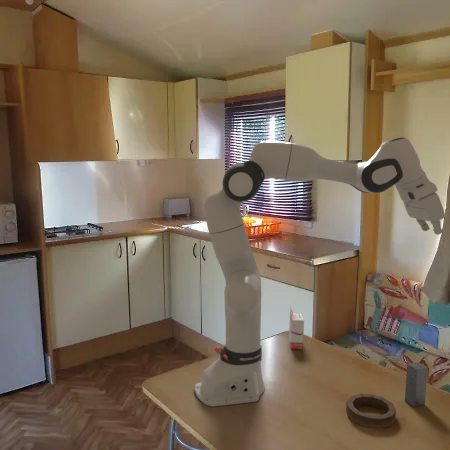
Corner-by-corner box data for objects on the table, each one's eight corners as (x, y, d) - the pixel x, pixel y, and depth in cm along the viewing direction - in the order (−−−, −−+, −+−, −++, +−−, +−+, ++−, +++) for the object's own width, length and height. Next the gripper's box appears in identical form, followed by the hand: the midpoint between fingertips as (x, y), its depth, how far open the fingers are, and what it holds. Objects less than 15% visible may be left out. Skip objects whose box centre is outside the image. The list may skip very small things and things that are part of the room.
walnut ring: (367, 433, 128) (368, 422, 128) (337, 408, 140) (337, 399, 140) (404, 421, 134) (405, 412, 133) (372, 399, 145) (373, 390, 145)
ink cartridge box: (303, 349, 181) (304, 313, 179) (290, 349, 182) (291, 312, 179) (301, 340, 190) (302, 305, 188) (288, 340, 190) (289, 305, 188)
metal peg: (414, 407, 141) (417, 369, 139) (404, 401, 145) (407, 364, 143) (424, 404, 143) (427, 367, 141) (414, 398, 146) (417, 361, 144)
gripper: (393, 192, 149) (410, 232, 150) (416, 194, 129) (436, 240, 130) (411, 184, 149) (428, 224, 150) (438, 185, 129) (458, 231, 129)
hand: (432, 231), depth 140 cm, fingers open, 8 cm apart
